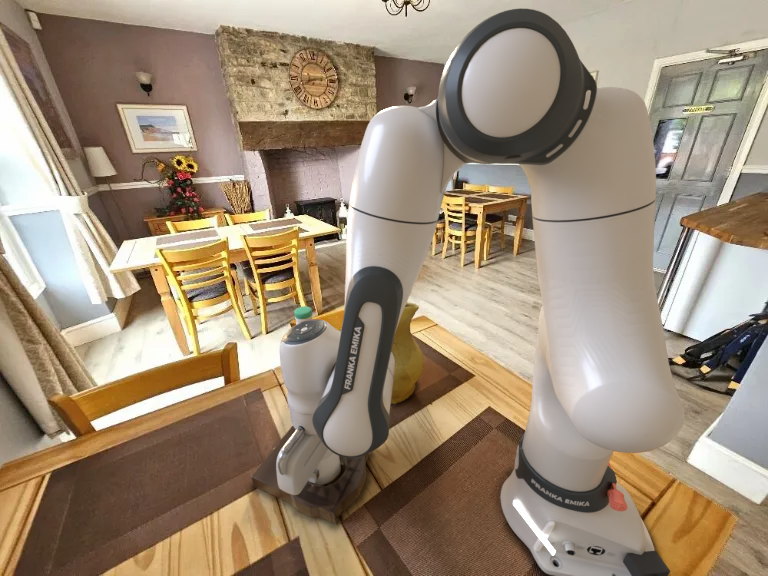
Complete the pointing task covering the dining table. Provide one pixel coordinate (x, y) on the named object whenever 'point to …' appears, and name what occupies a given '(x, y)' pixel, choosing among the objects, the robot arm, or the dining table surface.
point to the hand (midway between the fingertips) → (324, 460)
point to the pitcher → (406, 357)
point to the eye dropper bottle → (328, 468)
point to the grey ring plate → (315, 498)
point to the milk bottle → (303, 314)
